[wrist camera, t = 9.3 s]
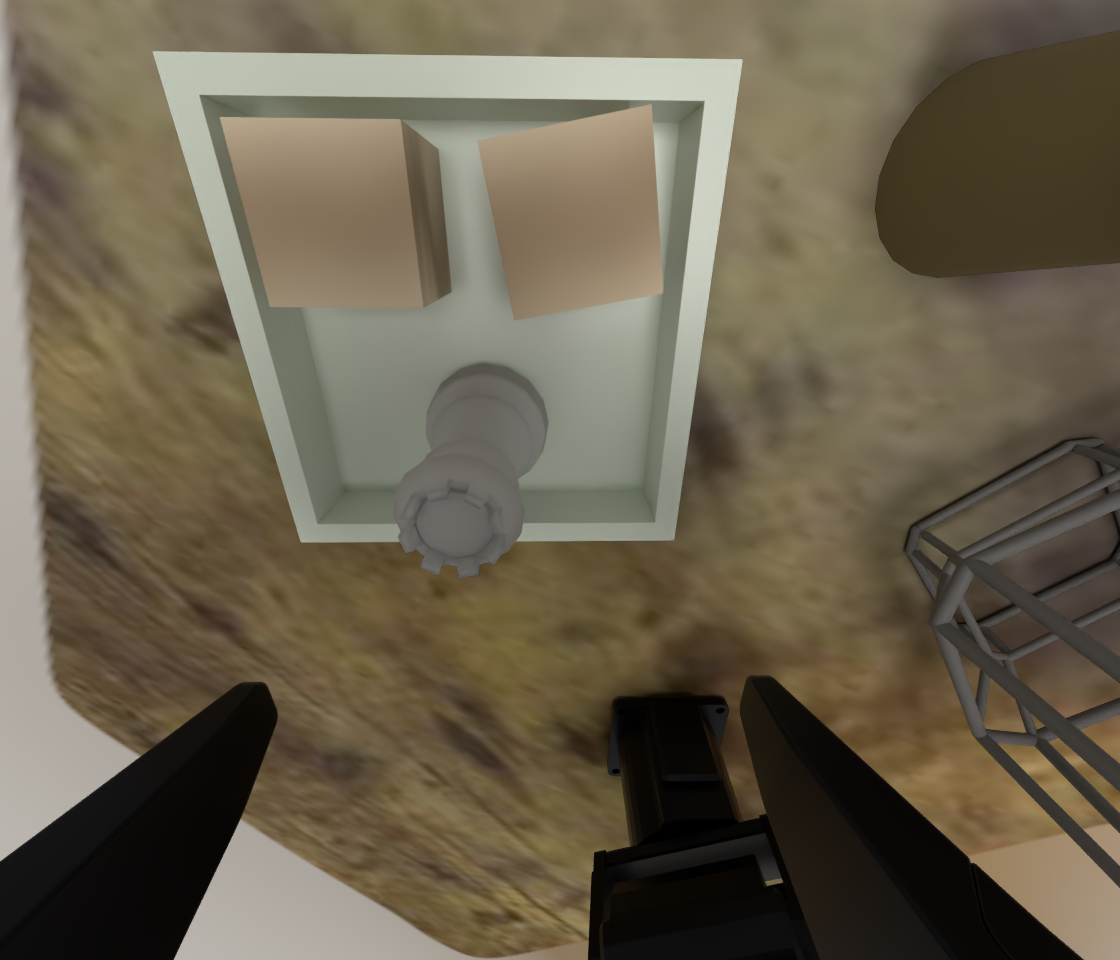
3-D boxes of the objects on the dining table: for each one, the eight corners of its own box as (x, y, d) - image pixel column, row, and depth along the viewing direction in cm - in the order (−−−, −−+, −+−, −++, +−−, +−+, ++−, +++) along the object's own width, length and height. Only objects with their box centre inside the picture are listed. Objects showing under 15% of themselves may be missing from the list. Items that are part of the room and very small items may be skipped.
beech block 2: (638, 281, 16) (663, 293, 12) (522, 302, 16) (514, 320, 13) (626, 138, 14) (651, 104, 10) (495, 164, 14) (476, 140, 11)
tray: (657, 499, 20) (674, 540, 18) (335, 500, 20) (300, 542, 17) (704, 94, 14) (742, 59, 11) (232, 88, 14) (152, 51, 11)
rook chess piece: (497, 491, 19) (467, 636, 12) (408, 421, 18) (315, 539, 11) (572, 416, 18) (588, 531, 11) (482, 334, 17) (432, 404, 9)
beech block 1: (451, 292, 16) (423, 307, 12) (332, 291, 16) (269, 307, 12) (438, 149, 14) (400, 119, 10) (303, 147, 14) (219, 117, 10)
